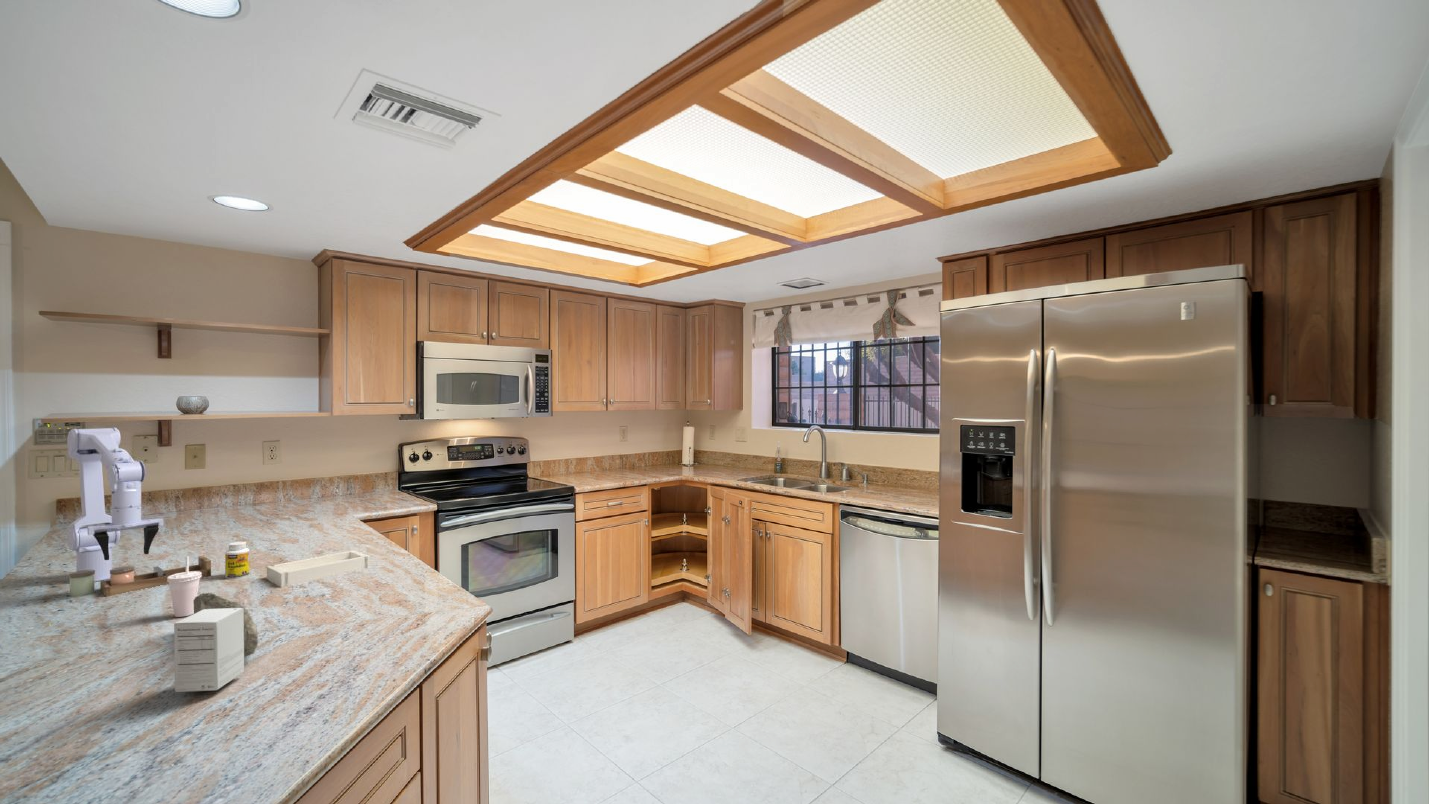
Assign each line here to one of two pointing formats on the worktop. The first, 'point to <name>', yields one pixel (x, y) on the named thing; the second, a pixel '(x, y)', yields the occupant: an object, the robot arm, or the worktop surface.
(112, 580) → the jar stock
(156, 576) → the pusher
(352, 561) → the utensil tray
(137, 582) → the lane
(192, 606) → the smoothie
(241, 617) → the supplement box
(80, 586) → the jar
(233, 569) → the supplement bottle
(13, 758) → the worktop surface
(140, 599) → the worktop surface
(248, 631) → the elongated rock
